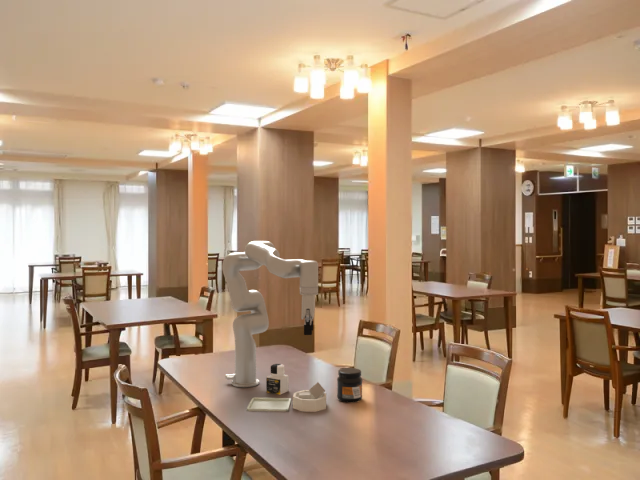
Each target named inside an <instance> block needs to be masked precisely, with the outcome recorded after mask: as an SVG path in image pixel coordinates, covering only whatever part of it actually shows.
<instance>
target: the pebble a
mask: <svg viewBox="0 0 640 480" xmlns="http://www.w3.org/2000/svg"><path fill="white" fill-rule="evenodd" d="M299 398H301V399H311V392H303V393H299Z"/></svg>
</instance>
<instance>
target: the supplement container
mask: <svg viewBox="0 0 640 480" xmlns="http://www.w3.org/2000/svg"><path fill="white" fill-rule="evenodd" d="M337 372H338V373H337V375H338V376H337V378H336V382H337V383H336V386H337V388H336V389H337V390H336V391H337V392H336V394H337V395H336V398H337V399H338V400H339V401H340V402H342V403H357V402H360V401H361V400H362V399H363V378H362V370H361V369H359V368H357V367H356V368H355V367H344V368H340V369H339V370H337Z"/></svg>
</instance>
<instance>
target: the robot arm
mask: <svg viewBox="0 0 640 480" xmlns="http://www.w3.org/2000/svg"><path fill="white" fill-rule="evenodd" d="M244 247H245V248H244V251H243V252H242V251H240V252H231V253H229V254H227V255H226V256H225V257H224V258H223V260H222V267H221V269H222V273H223V277H224V279H225V282H226V285H227V290H228V293H229V299H230V303H231V306H232V309H233V310H234V312H236V313H245V312H250V313H245V314H240V315H238V316H237V317H236V316H235V318H234V319H233V322H232V330H233V335H234V373H232V374H231V373H230V374H228V373H226V374H225V379H226V380H232V381H231V385H232V386H234V387H235V388H236V387H237V388H252V387H255V386H256V387H257V386H258V385H259V384H260V380H259V379H258V378H257V343H256V341H255V338H254V336H253V335H258V334H262V333H264V332H267V330H268V328H269V326H270V320H269V316H268V312H267V311H268V310H267V306H266V301H265V298H264V296H263V294H262V293H261V292H260V291H259V290H256V289H249V288H248V285H247V281H246V279H245V277H244V276H243V275H242V274H241V272H243V271H244V272H245V271H255V270H258V269H260V267H262V266H265V267H266V269H267V271H268V272H269V273H270V274H272V275H275V276H277V277H279V278H282V279H292V278H299V295H301V314H300V315H301V317H300V319H301V320H304V324H303V335H304V336H312V335H313V331H314V317H315V311H316V296H317V295H319V262H318V261H317V260H310V259H309V260H308V259H307V260H305V259H302V258H297V259H295V258H294V259H284V258H281V257H280V256H281V254H280V252H279V250H278V249H276V247H275V244H273V243H272V242H271V241H268V240H253V241H250V242H248V243H247V244H246V245H245V246H244ZM248 289H249V290H248Z"/></svg>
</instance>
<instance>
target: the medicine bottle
mask: <svg viewBox="0 0 640 480" xmlns="http://www.w3.org/2000/svg"><path fill="white" fill-rule="evenodd" d="M285 367H286V366H285V365H284V364H282V363H274V364H271V365H270V375H267V376H266V381H265V383H266V386H265V387H266V388H265V389H266V391H265V392H266V393H268V394H273V395H278V396H279V395H283V394H285V393H287V392H289V385H290V384H289V379H290V378H289V375H288V374H285V373H286V372H285V371H286V370H285V369H286V368H285Z"/></svg>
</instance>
